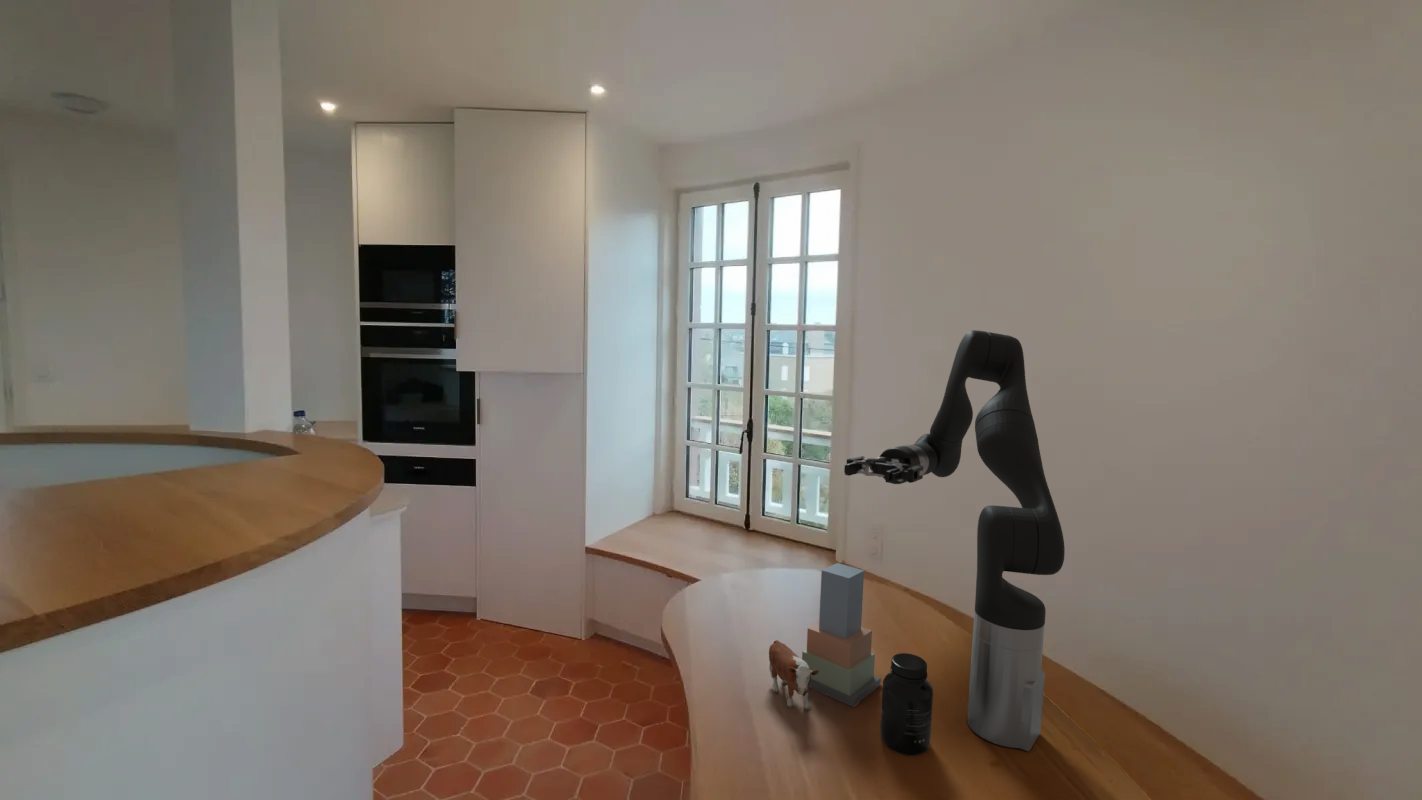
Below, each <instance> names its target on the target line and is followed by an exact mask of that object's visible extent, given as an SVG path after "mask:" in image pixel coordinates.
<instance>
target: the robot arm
mask: <svg viewBox="0 0 1422 800" xmlns="http://www.w3.org/2000/svg"><path fill="white" fill-rule="evenodd" d="M1024 357H1025V355H1024V350H1023V346H1022V344H1021V342H1020V340H1019V339H1018V338H1016V337H1014V336H1012V335H1008V334H1002V333H998V332H997V333H996V332H991V331H984V330H978V329H977V330H974V329H973V330H969V331H967V332H966V333H964V335H963V337H962V339H961V341H960V342H959V345H958V347H957V350H956V353H955V355H954V359H953V363H952V366H951V370H950V373H949V376H948V380H947V384H946V387H945V390H944V391H945V392H944V395H943V399H942V401H941V405H940V408H939V409H938V411H937V413H936V416H935V418H934V420H933V422H932V424H931V427H930V428H929V433H925V434H923V435H921V436H920V437H919V438H917V440H916V441H915V443H914V444H903V445H898V446H894V447H889V448H887V449H885V450H883V452H881V454H880V455H879V456H876V457H869V458H868V457H865V456H864V455H863V456H862V455H861V456H858V457H857V456H856V457H851V458H847V459H846V464H845V465H844V469H843V470H844V471H843V473H844V475H845V476H848V477H849V476H853V475H857V474H862V475H864V476H866V477H878V478H883V479H884V480H885V483H888V484H892V485H902V484H904V483H909V484H911V483H915V482H918V481H920V480H922V479H923V477H924V476H926V475H929V474H930V473H932V474H933V475H934V476H936V477H938V478H947V477H949V476H951V475H952V474H954V473H955V472H956V470H957V469H958V467H959V464H960V462H961V457H962V446H963V445H962V444H963V439H964V438H965V436H966V434H967V432H968V430H969V428H970V427H971V424H972V421H973V418H974V417H973V416H974V412H973V406H972V403H971V400H970V397H969V395H968V392H967V388H966V382H967V379H968V378H971V379H973V380H974V379H975V380H980V381H986V382H991V383H996V384H997V385H998V386H999V389H998V391H997V392H996V393H995V394H994V395H993V396H992V397H991V398H990V399H988V401H987V402H986V403H985V404H984V405H983V406H982V407H981V408H980V410H979V412H978V413H977V415H976V417H975V421H974V432H975V439H976V440H975V441H976V446H977V449H976V450H977V453H978V456H979V458H981V461H982V462H983V464H984V465H985V466H986V467H987V468H988V469H989V471H990V472H992V474H993V475H994V476H995V477H996V478H997V479H998V480H1000V482H1002V483H1003V484H1004V485H1005V487H1007V488H1008V489H1009V490H1010V491H1011V493H1013V494H1014V496H1015V497H1016V499H1017V500H1018V502H1019V504H1020V505H1021V507H1018V506H1017V507H1016V506H1004V505H987V506H984V507H983V508H982V510H981V511H980V513H979V516H978V522H977V528H976V529H977V532H976V533H977V534H976V578H975V579H976V580H975V581H976V582H975V583H976V584H975V601H974V612H973V613H974V614H973V628H972V644H971V657H970V659H971V660H970V671H969V672H970V673H969V675H970V676H969V689H968V690H969V691H968V701H967V702H968V704H967V721H966V722H967V724H968V726H969V727H970V729H971V730H972V731H973V732H974V733H975V734H976V735H978V736H979V737H981V738H982V739H984V740H986V741H988V742H991V743H993V744H995V745H998V746H1002V747H1006V748H1011V749H1014V748H1015V749H1021V750H1023V751H1026V752H1030V750H1031V749H1032V747H1033V745H1034V744H1035V743H1036V740H1038V738H1039V736H1040V735H1041V730H1042V729H1041V727H1042V715H1043V706H1044V705H1043V704H1044V703H1043V702H1044V689H1045V677H1046V674H1045V673H1046V672H1045V671H1044V670H1043V669H1042V663H1043V662H1042V661H1043V650H1044V649H1043V647H1044V636H1045V635H1044V634H1045V625H1046V624H1045V623H1046V606H1045V604H1044V602H1043V601H1042V600H1041V599H1040V598H1039V597H1037V596H1036V595H1034V594H1033V593H1031V592H1029V591H1027V590H1025V589H1022V588H1021V587H1018V586H1016V585H1014V584H1012V583H1010V582H1009V581H1007V580H1006V579H1005V578H1004V577H1003V574H1004V572H1008V573H1015V574H1018V573H1019V574H1027V575H1037V576H1053V575H1055V574H1058V572H1060V571H1061V569H1062V567H1063V566H1064V565H1063V564H1064V562H1065V551H1066V550H1065V540H1064V533H1063V530H1062V529H1063V528H1062V525H1061V522H1060V519H1059V516H1058V512H1057V509H1056V506H1055V503H1054V500H1053V497H1052V494H1051V492H1050V489H1049V485H1048V482H1047V478H1046V476H1045V475H1046V474H1045V471H1044V465H1043V461H1042V456H1041V450H1040V446H1039V438H1038V434H1037V430H1036V424H1035V421H1034V418H1033V413H1032V409H1031V405H1030V400H1029V395H1028V390H1027V383H1026V368H1025V358H1024ZM869 471H871V472H869Z"/></svg>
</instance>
